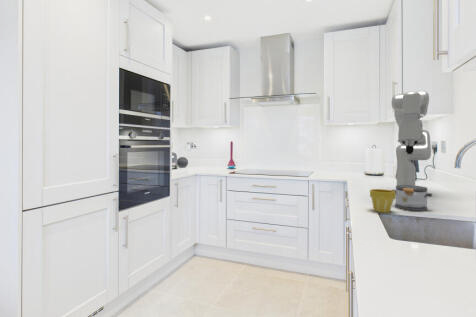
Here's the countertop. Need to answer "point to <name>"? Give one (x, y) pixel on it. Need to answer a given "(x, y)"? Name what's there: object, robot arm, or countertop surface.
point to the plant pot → (382, 199)
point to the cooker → (411, 200)
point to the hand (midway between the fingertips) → (409, 153)
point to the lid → (411, 188)
